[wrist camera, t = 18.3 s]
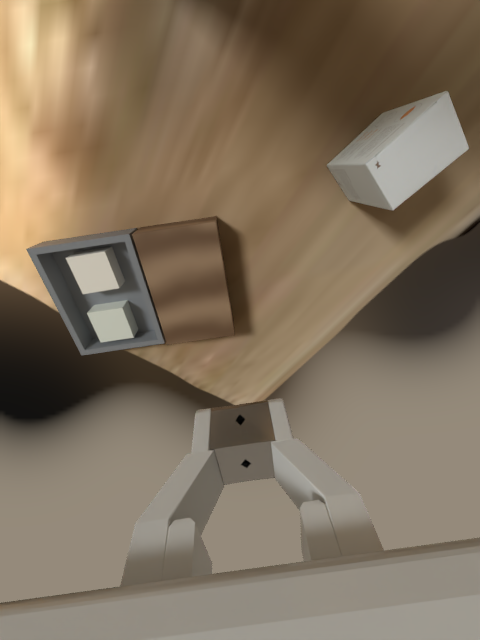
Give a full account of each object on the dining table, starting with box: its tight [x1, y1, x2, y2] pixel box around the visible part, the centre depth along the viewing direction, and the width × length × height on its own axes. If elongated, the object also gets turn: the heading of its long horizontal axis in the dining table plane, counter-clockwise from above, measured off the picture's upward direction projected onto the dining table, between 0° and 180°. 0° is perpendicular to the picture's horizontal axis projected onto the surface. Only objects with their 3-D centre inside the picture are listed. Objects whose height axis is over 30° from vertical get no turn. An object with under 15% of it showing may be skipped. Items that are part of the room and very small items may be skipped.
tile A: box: [66, 246, 125, 294], centre depth 36 cm, size 5×5×2 cm
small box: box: [327, 91, 469, 211], centre depth 29 cm, size 8×6×10 cm
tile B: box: [87, 300, 138, 342], centre depth 40 cm, size 5×5×2 cm
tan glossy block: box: [132, 216, 235, 345], centre depth 38 cm, size 16×10×4 cm, turn 7°
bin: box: [27, 228, 166, 355], centre depth 38 cm, size 16×12×4 cm
